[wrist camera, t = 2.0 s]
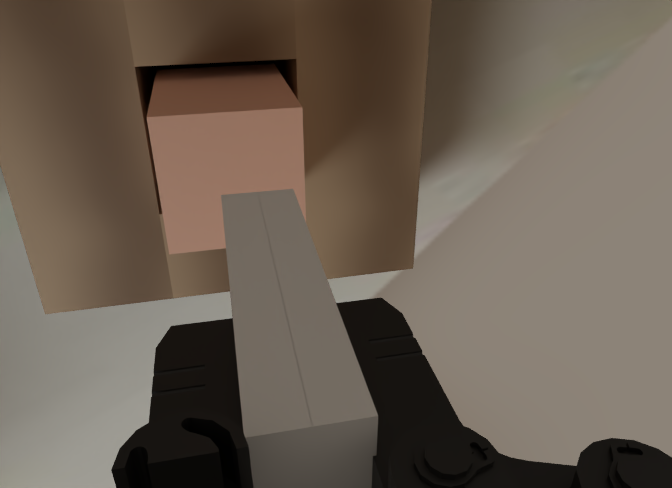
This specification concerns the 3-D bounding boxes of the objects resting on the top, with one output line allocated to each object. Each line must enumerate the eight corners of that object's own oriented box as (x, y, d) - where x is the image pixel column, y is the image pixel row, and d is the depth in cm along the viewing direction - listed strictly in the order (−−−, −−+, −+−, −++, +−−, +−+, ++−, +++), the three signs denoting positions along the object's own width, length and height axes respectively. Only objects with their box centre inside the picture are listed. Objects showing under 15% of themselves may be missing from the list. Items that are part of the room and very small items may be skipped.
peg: (173, 179, 21) (169, 254, 16) (156, 69, 20) (146, 117, 15) (279, 170, 22) (306, 239, 17) (274, 63, 20) (302, 107, 15)
